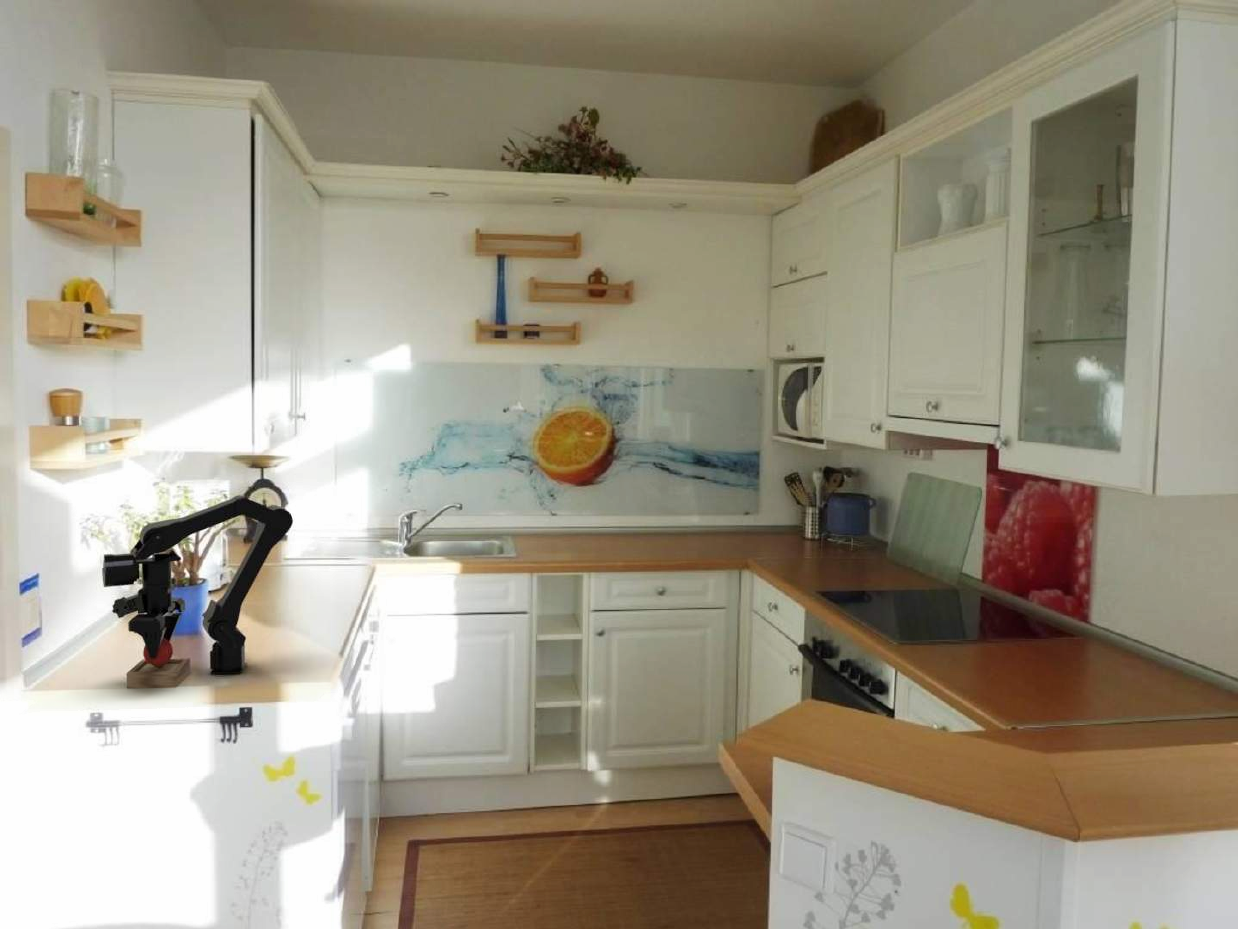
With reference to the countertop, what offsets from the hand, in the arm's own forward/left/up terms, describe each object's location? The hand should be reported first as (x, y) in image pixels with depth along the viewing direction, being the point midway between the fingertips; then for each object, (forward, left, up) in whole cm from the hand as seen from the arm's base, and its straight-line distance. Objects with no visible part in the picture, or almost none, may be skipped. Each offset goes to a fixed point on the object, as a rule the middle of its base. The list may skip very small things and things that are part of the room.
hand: (159, 653), depth 213 cm
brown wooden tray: (0, 0, -6) cm, 6 cm away
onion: (0, 0, -4) cm, 4 cm away
